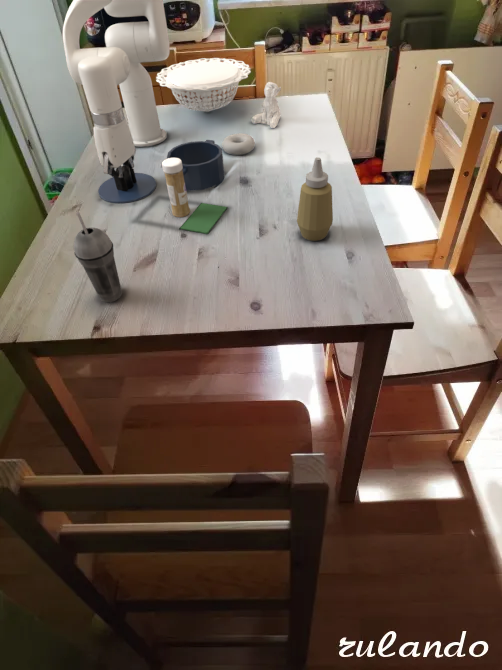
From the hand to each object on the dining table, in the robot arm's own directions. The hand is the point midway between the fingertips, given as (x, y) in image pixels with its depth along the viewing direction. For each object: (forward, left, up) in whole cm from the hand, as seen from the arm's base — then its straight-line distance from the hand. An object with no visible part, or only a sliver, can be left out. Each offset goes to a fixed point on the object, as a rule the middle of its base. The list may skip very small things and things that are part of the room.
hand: (127, 185), depth 125 cm
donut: (+20, +31, -2) cm, 37 cm away
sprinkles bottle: (+20, -7, -1) cm, 21 cm away
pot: (+16, +11, -1) cm, 19 cm away
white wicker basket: (-2, +56, -2) cm, 56 cm away
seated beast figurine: (+22, +53, -2) cm, 57 cm away
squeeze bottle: (+54, -6, -2) cm, 54 cm away
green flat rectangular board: (+20, -7, -1) cm, 21 cm away
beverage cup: (+20, -39, -2) cm, 44 cm away
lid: (0, 0, -1) cm, 1 cm away
